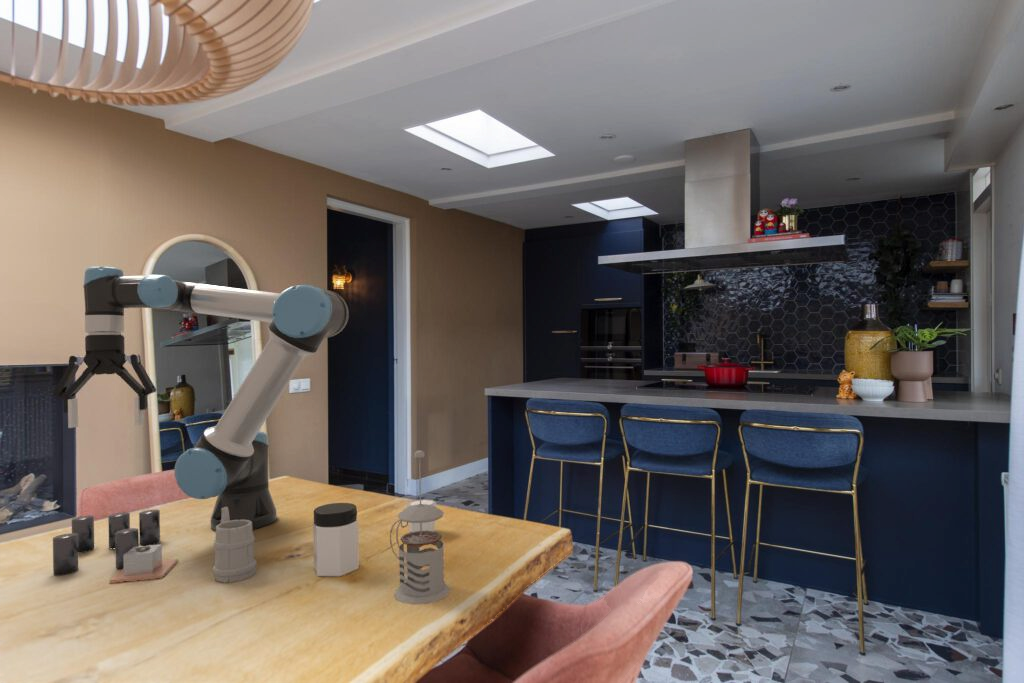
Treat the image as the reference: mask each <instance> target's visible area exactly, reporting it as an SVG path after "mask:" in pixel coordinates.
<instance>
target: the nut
mask: <svg viewBox="0 0 1024 683" xmlns="http://www.w3.org/2000/svg"><path fill="white" fill-rule="evenodd" d="M162 546H163V545H162V544H161V543H160V544H153V545H146V546H142V545H139V546H136V547H133V548H132V549H131V550H129V551H128V552H127V553H126V554H124V555H123V562H124V576H130V575H140V574H151V573H153V572H154V571H156V570H157V569H158V568H159V567H160V566H161V565H162V560H163V547H162Z"/></svg>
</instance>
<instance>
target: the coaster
mask: <svg viewBox="0 0 1024 683" xmlns="http://www.w3.org/2000/svg"><path fill="white" fill-rule="evenodd" d="M177 563H179V560H178V558H173V559H172V558H171V559H162V565H161V566H160V567H159V568H158V569H157V570H156V571H154V572H153V573H151V574H140V575H130V576H124V568H123V569H120V571H119V572H118V573H115V575H114V576H113V577H112V578H110V579H109V584H117V583H116V582H120V583H124V582H123V581H130V582H138V581H137V580H140V581H146V580H147V581H148V579H150V580H156V579H155V578H160V579H163V578H164V577H165V576H166V575H167V574H168V573H169V572H170V571H171V570H172V569H173V568H174V566H175V565H176V564H177ZM169 570H170V571H169ZM168 571H169V572H168ZM166 573H167V574H166ZM165 574H166V575H165ZM163 576H164V577H163Z"/></svg>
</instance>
